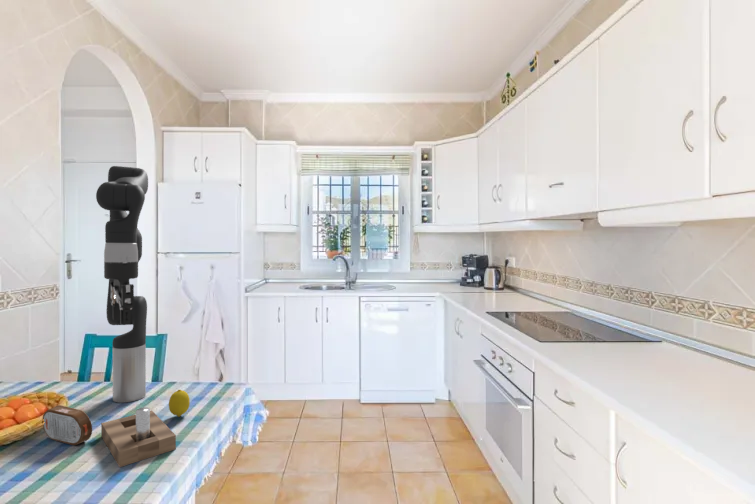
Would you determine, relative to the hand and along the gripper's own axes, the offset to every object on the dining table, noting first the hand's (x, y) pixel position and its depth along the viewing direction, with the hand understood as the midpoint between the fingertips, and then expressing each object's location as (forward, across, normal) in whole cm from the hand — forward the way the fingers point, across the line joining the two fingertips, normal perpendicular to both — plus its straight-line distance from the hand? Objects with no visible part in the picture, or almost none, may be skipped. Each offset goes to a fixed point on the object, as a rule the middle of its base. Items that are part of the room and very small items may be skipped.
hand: (121, 322), depth 106 cm
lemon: (+30, -2, +15) cm, 34 cm away
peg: (+30, +12, +2) cm, 33 cm away
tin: (+30, -6, -11) cm, 33 cm away
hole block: (+30, +7, +2) cm, 31 cm away
